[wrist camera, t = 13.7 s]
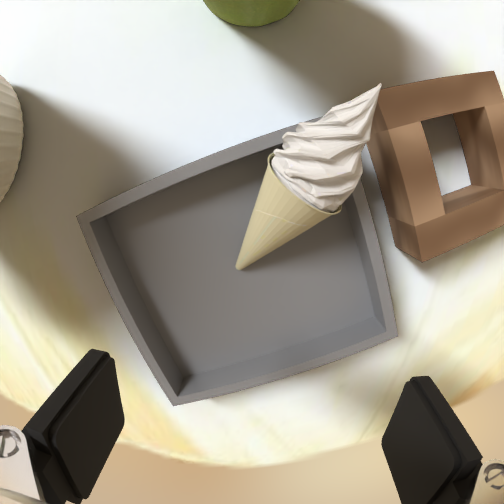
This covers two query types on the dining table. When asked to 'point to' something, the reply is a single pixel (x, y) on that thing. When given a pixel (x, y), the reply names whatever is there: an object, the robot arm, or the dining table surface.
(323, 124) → the ice cream cone
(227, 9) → the plant pot
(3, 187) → the canister
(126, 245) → the grey tray
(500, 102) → the cone stand
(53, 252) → the dining table surface
